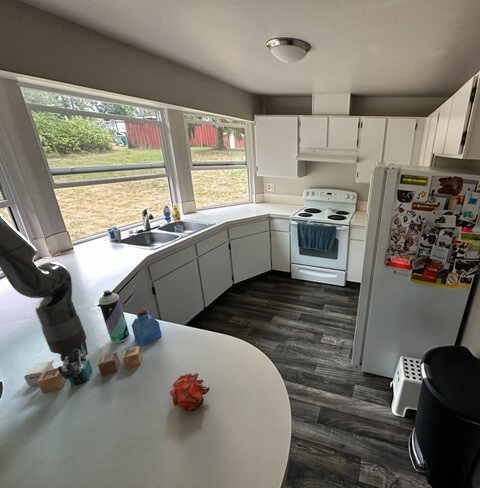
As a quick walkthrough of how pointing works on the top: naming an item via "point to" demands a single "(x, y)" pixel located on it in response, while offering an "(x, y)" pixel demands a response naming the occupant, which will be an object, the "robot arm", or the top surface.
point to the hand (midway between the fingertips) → (81, 377)
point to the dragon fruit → (188, 392)
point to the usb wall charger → (37, 372)
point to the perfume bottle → (145, 327)
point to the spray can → (114, 317)
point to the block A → (51, 380)
